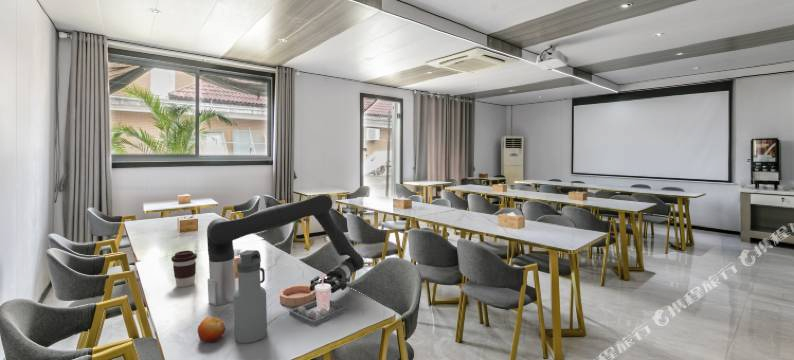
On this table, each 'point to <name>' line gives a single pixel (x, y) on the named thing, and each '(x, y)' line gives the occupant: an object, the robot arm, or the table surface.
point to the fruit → (211, 329)
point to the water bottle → (250, 299)
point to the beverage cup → (323, 295)
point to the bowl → (297, 295)
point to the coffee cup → (184, 268)
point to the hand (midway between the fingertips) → (321, 289)
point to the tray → (321, 319)
